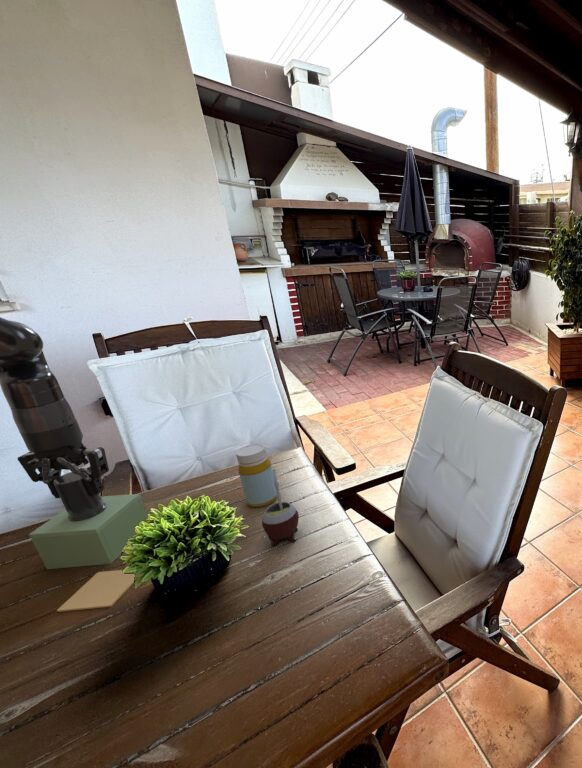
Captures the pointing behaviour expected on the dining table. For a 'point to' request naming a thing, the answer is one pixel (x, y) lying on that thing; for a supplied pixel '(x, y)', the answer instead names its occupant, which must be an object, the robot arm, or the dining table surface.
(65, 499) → the holder
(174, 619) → the dining table surface
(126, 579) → the coaster
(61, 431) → the robot arm
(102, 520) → the block
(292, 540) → the mate gourd
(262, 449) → the bottle
